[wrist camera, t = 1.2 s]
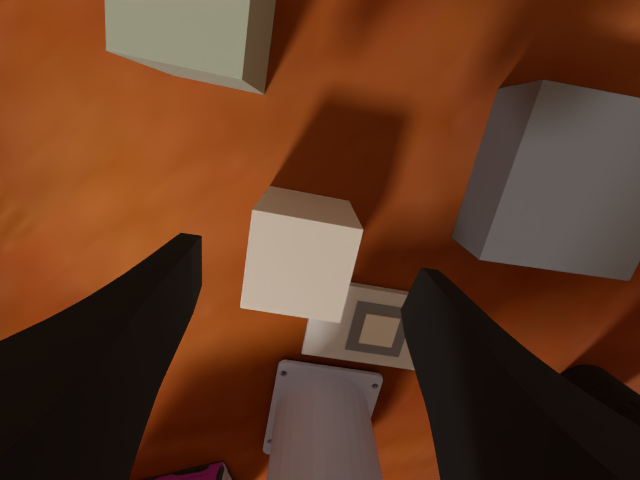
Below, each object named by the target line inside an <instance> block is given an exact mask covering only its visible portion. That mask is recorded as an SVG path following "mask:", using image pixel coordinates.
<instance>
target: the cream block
mask: <svg viewBox="0 0 640 480" xmlns="http://www.w3.org/2000/svg"><path fill="white" fill-rule="evenodd" d="M362 234H363V228H362V226H361V224H360V222H359V220H358V218H357V216H356V214H355V212H354V210H353V208H352V206H351V204H350V202H349V201H348V200H343V199H337V198H332V197H327V196H321V195H316V194H311V193H305V192H300V191H295V190H289V189H284V188H279V187H273V186H269V188H268V189H267V190H266V192H265V193H264V194H263V196H262V197H261V199H260V200H259V201H258V203H257V204H256V205H255V207H254V208H253V210H252V216H251V224H250V232H249V240H248V248H247V256H246V264H245V272H244V280H243V288H242V296H241V303H240V308H244V309H251V310H257V311H264V312H270V313H277V314H283V315H290V316H296V317H303V318H309V319H316V320H322V321H329V322H335V323H340V321H341V317H342V313H343V309H344V305H345V301H346V297H347V293H348V289H349V285H350V281H351V277H352V273H353V269H354V265H355V261H356V257H357V253H358V250H359V246H360V242H361V238H362Z"/></svg>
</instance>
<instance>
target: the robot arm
mask: <svg viewBox="0 0 640 480" xmlns="http://www.w3.org/2000/svg"><path fill="white" fill-rule="evenodd" d="M201 286H202V236H199V235H192V234H185V233H180V234H179V235H177V236H176V237H174V238H173V239H172V240H170V241H169V242H168V243H166V244H165V245H164V246H162V247H161V248H160V249H158V250H157V251H155V252H154V253H153V254H151V255H150V256H149V257H147V258H146V259H145V260H143V261H142V262H140V263H139V264H137V265H136V266H135V267H133V268H132V269H130V270H129V271H127V272H126V273H125V274H123V275H122V276H120V277H119V278H117V279H115V280H114V281H112V282H111V283H109V284H108V285H106V286H104V287H103V288H101V289H100V290H98V291H97V292H95V293H93V294H92V295H90V296H88V297H87V298H85V299H83V300H81V301H80V302H78V303H76V304H74V305H72V306H70V307H69V308H67V309H65V310H63V311H61V312H59V313H57V314H55V315H54V316H52V317H50V318H48V319H46V320H44V321H42V322H40V323H37V324H35V325H33V326H31V327H29V328H27V329H25V330H23V331H20V332H18V333H16V334H14V335H12V336H10V337H8V338H6V339H3V340H1V341H0V480H128V479H129V476H130V473H131V470H132V467H133V464H134V461H135V458H136V455H137V452H138V449H139V446H140V443H141V440H142V436H143V433H144V430H145V427H146V425H147V422H148V419H149V416H150V413H151V410H152V407H153V404H154V401H155V399H156V396H157V393H158V391H159V388H160V386H161V383H162V381H163V379H164V376H165V374H166V372H167V370H168V368H169V365H170V363H171V361H172V359H173V357H174V354H175V352H176V350H177V348H178V346H179V344H180V341H181V339H182V337H183V335H184V333H185V330H186V328H187V326H188V324H189V321H190V319H191V317H192V315H193V312H194V309H195V306H196V303H197V300H198V296H199V293H200V290H201ZM401 317H402V324H403V329H404V335H405V339H406V343H407V346H408V349H409V353H410V356H411V359H412V363H413V366H414V369H415V372H416V375H417V379H418V382H419V385H420V388H421V392H422V395H423V398H424V401H425V405H426V409H427V413H428V417H429V421H430V426H431V431H432V436H433V441H434V446H435V451H436V457H437V463H438V468H439V474H440V480H640V426H639V425H637V424H635V423H634V422H632V421H630V420H629V419H627V418H625V417H624V416H622V415H620V414H619V413H617V412H616V411H614V410H612V409H611V408H609V407H608V406H606V405H604V404H603V403H601V402H600V401H598V400H597V399H595V398H594V397H592V396H591V395H589V394H588V393H586V392H585V391H583V390H582V389H580V388H579V387H577V386H576V385H574V384H573V383H571V382H570V381H569V380H567V379H566V378H564V377H563V376H562V375H560V374H559V373H557V372H556V371H555V370H553V369H552V368H551V367H549V366H548V365H547V364H545V363H544V362H543V361H541V360H540V359H539V358H537V357H536V356H535V355H534V354H532V353H531V352H530V351H528V350H527V349H526V348H525V347H523V346H522V345H521V344H520V343H519V342H517V341H516V340H515V339H514V338H513V337H512V336H510V335H509V334H508V333H507V332H506V331H505V330H503V329H502V328H501V327H500V326H499V325H498V324H497V323H496V322H494V321H493V320H492V319H491V318H490V317H489V316H488V315H487V314H486V313H484V312H483V311H482V310H481V309H480V308H479V307H478V306H477V305H476V304H475V303H474V302H473V301H472V300H471V299H470V298H468V297H467V296H466V295H465V294H464V293H463V292H462V291H461V290H460V289H459V288H458V287H457V286H456V285H455V284H454V283H452V282H451V281H450V280H449V279H448V278H447V277H446V276H445V275H444V274H442V273H441V272H440V271H439V270H434V269H427V268H421V269H420V271H419V273H418V275H417V277H416V279H415V281H414V283H413V285H412V287H411V289H410V291H409V293H408V295H407V297H406V299H405V301H404V304H403V306H402V308H401ZM281 371H286V372H285V373H283V372H281ZM382 383H383V378H382V375H381V374H380V373H376V372H369V371H362V370H355V369H348V368H341V367H334V366H327V365H320V364H313V363H306V362H299V361H292V360H281V361H280V362H279V364H278V369H277V374H276V380H275V385H274V390H273V396H272V401H271V407H270V412H269V417H268V423H267V428H266V434H265V439H264V444H263V452H264V453H266V454H270V457H269V465H268V472H267V480H383V477H382V472H381V467H380V462H379V457H378V452H377V447H376V442H375V437H374V432H373V427H372V422H371V416H372V413H373V410H374V407H375V404H376V401H377V398H378V395H379V392H380V389H381V386H382ZM373 384H376V385H373ZM270 439H271V440H270Z"/></svg>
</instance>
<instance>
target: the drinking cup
mask: <svg viewBox="0 0 640 480" xmlns="http://www.w3.org/2000/svg"><path fill="white" fill-rule="evenodd" d="M561 375H562V376H563V377H564V378H566V379H567V380H569V381H570V382H571V383H573V384H574V385H576V386H577V387H579V388H580V389H582V390H583V391H585V392H586V393H588V394H589V395H591V396H592V397H594V398H595V399H597V400H598V401H600V402H601V403H603V404H604V405H606V406H608V407H609V408H611V409H612V410H614V411H616V412H617V413H619V414H620V415H622V416H624V417H625V418H627V419H629V420H630V421H632V422H634V423H635V424H637V425H639V426H640V395H639V394H637V393H636V392H635V391H633V390H632V389H630V388H629V387H628V386H626V385H625V384H623V383H622V382H620V381H619V380H618V379H616V378H615V377H613V376H612V375H611V374H609V373H608V372H606V371H605V370H603V369H602V368H600V367H597V366H592V365H583V366H577V367H574V368H571V369H569V370H567V371H565V372H564V373H562V374H561Z"/></svg>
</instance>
